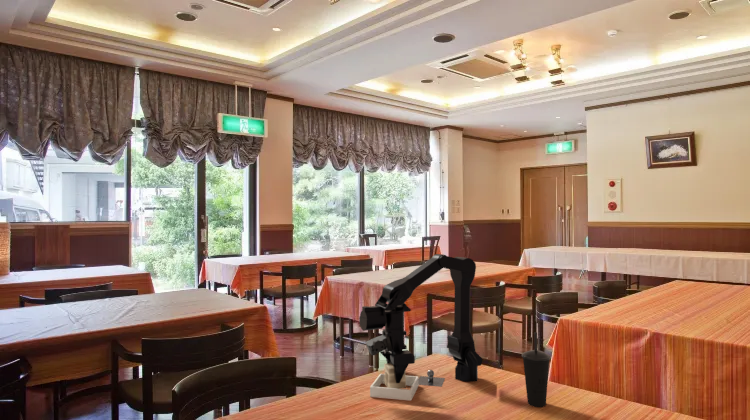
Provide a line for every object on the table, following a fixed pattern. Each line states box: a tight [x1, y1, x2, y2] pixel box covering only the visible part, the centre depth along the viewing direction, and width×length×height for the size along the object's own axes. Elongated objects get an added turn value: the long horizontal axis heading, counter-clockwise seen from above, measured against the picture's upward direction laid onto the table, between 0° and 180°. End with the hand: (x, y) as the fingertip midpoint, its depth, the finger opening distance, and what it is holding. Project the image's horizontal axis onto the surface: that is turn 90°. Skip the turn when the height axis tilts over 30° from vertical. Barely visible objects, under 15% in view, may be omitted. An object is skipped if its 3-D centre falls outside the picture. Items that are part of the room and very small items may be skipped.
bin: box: [369, 373, 420, 401], centre depth 141 cm, size 12×12×4 cm
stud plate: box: [418, 369, 446, 388], centre depth 149 cm, size 8×8×5 cm
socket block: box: [384, 362, 407, 389], centre depth 141 cm, size 5×5×6 cm
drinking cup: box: [521, 331, 552, 408], centre depth 134 cm, size 8×8×20 cm
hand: (395, 379), depth 141 cm, fingers closed on socket block, 5 cm apart
